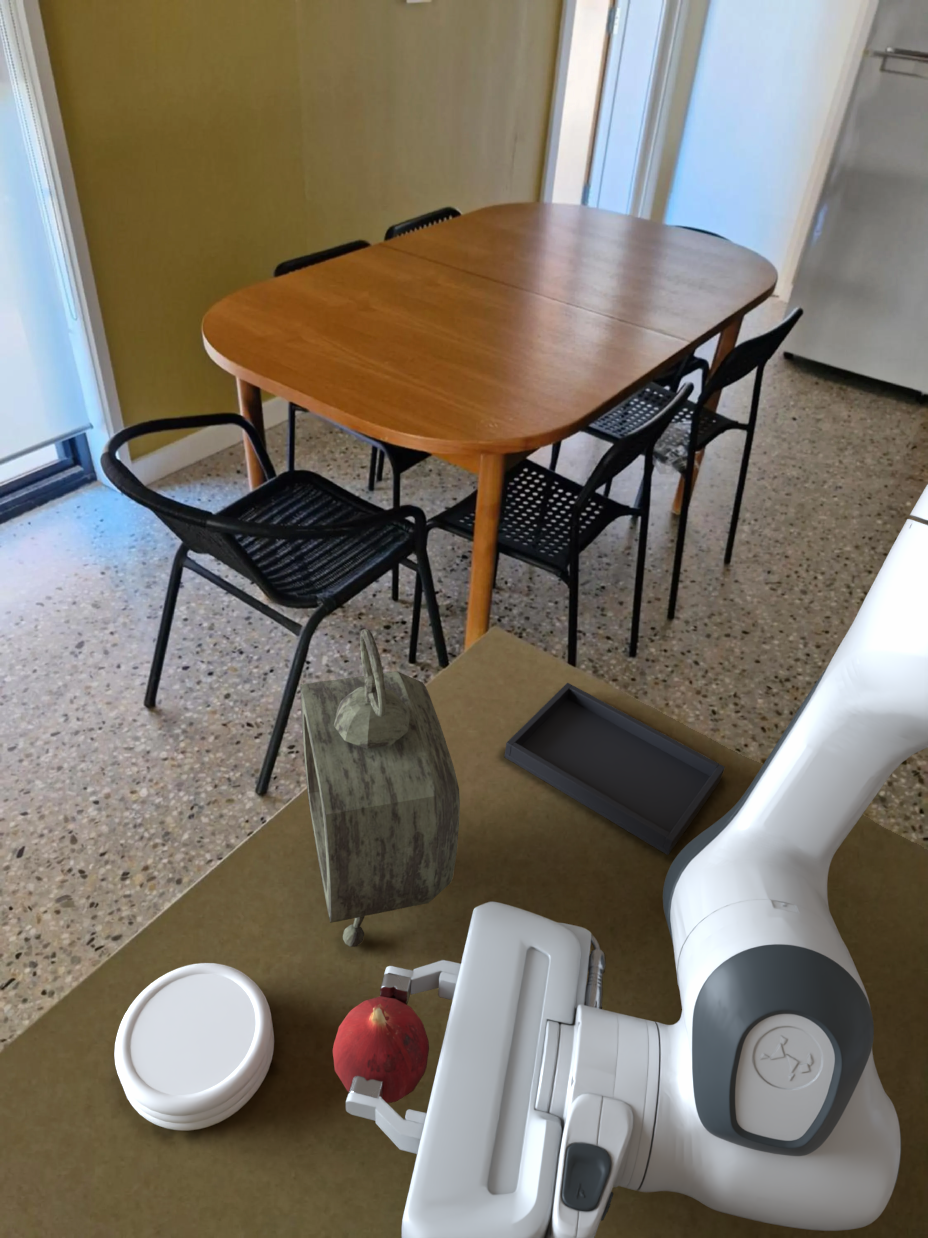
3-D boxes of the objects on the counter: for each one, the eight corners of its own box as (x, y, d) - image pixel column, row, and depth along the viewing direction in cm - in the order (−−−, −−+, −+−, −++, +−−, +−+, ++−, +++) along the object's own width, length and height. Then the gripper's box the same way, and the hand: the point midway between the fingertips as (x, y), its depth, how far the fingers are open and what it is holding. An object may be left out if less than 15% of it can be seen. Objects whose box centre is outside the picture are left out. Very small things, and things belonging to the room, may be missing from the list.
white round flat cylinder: (304, 1039, 62) (302, 1014, 60) (195, 1168, 55) (188, 1146, 53) (203, 960, 66) (197, 933, 64) (90, 1071, 59) (79, 1047, 57)
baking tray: (720, 781, 83) (725, 766, 82) (667, 855, 76) (672, 841, 75) (564, 696, 90) (567, 682, 89) (504, 757, 83) (506, 742, 82)
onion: (443, 1062, 58) (449, 1000, 53) (394, 1145, 54) (395, 1085, 49) (369, 1016, 60) (368, 951, 55) (317, 1092, 56) (310, 1030, 51)
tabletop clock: (308, 816, 77) (292, 586, 61) (410, 799, 79) (421, 572, 63) (334, 970, 66) (324, 738, 50) (451, 945, 68) (477, 716, 52)
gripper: (616, 908, 58) (410, 864, 60) (585, 1275, 42) (307, 1201, 44) (601, 959, 62) (409, 917, 64) (567, 1314, 46) (313, 1244, 48)
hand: (366, 1036), depth 54 cm, fingers closed on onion, 5 cm apart
